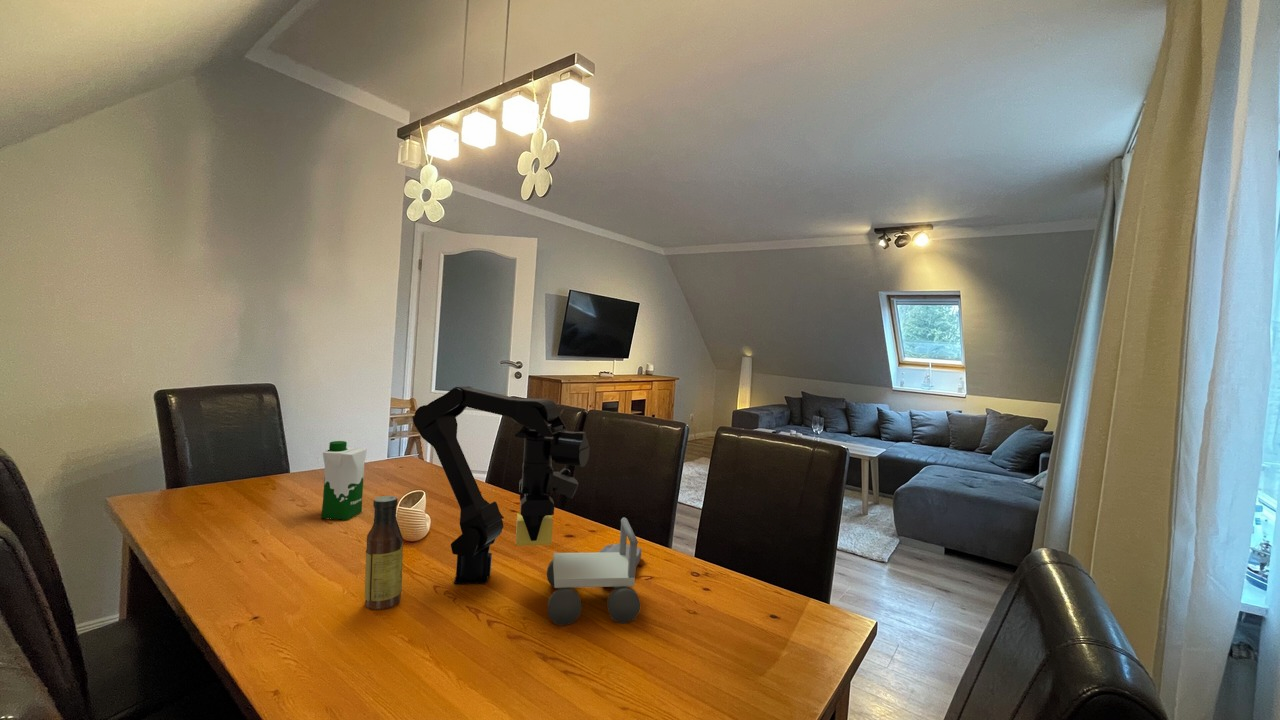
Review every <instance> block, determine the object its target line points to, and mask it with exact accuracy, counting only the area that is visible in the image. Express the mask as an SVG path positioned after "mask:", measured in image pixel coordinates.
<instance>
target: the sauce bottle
mask: <svg viewBox="0 0 1280 720" xmlns="http://www.w3.org/2000/svg"><path fill="white" fill-rule="evenodd" d="M398 504H399V503H398V497H397V496H394V495H382V496H377V497H375V498H374V499H373V505H372V506H373V508H374V511H373V513H374V515H373V516H374V519H373V523H372V526H371V529H370V530H369V532H367V535H366V550H365V576H364V577H365V578H364V600H365V601H364V604H365V606H366V607H367V608H369V609H370V610H376V611H377V610H386V609H390V608H392V607H394V606H396V605H397V604H399V602H400V601H401V598H402V592H403V565H404V564H403V559H404V558H403V557H404V556H403V555H404V553H403V551H404V550H403V549H404V540H403V539H404V538H403V534H402V532H401V529H400V527H399V522H398V520H397V506H398Z"/></svg>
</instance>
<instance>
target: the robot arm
mask: <svg viewBox="0 0 1280 720" xmlns="http://www.w3.org/2000/svg"><path fill="white" fill-rule="evenodd" d="M466 408H469V409H473V410H477V411H482V412H487V413H490V414H494V415H499V416H504V417H507V418H510V419H511V420H513V421H514V422H515V423H516V424H518V425H520V426H522V427H521V429H520V430H518V431H517V432H516V433H515V434H514V437H515V438H516V439H517V438H518V439H524V442H523V444H524V445H523V446H524V447H523V457H522V458H523V462H522V477H521V479H519V482H518V483H519V485H518V486H519V488H518V490H519V491H518V492H519V493H521V494H519V501H520V511H519V512H520V514H521V515H522V517H523V519H524V522H525V525H526V528H527V531H528V534H529V536H530V539H531V541H536V540H537V537H538V533H539V530H540V527H541V523H542V520H543V518H544V517H545V516H547V515H552V516H553V515H555V503H554V499H553V498H552V497H551V496H550V495H553V492H555V493H558V494H561V495H563V496H565V497H566V498H569V499H574V496H575V494H576V491H577V489H578V487H579V482H578V480H577V479H576V478H575V477H574V476H573V477H572V473H571V470H570V469H568V468H565V467H564V468H562V469H561V470H560V471H554V468H553V465H552V463H553V462H555V464H559V465H566V466H575V467H581V468H582V467H583V468H584V467H586V465H587V463H588V460H589V457H590V450H591V447H590V445H589V439H588V438H587V432H586V431H569V430H568V427H567V426H566V424H565V423H564V421H563V419H562V418H561V416H560V414H559V409H558V406H557V404H556V403H555V401H553V400H552V399H550V398H517V397H513V396H508V395H504V394H499V393H495V392H491V391H486V390H483V389H478V388H473V387H472V386H469V385H464V386H455V387H453V388H452V389H450V390H449V391H448V392H447V393H445V394H444V395H442V396H439V397H438V398H436V399H433V400H432V401H431V402H429V403H428V404H424V405H422V406H419V407H418V408H417V409H416V410H415V412H414V414H413V415H414V416H413V417H412V422H413V426H414V427H415V428H416V430H417V432H418V433H419V435H420V437H421V439H423V440H424V441H426V442H427V443H428V444H429V445H430V446H431V447H433V449H434V450H435V454H436V455H437V458H438V460H439V462H440V464H441V467H442V469H443V471H444V474H445V476H446V478H447V480H448V483H449V485H450V488H451V490H452V492H453V494H454V497H455V499H456V501H457V504H458V507H459V509H460V510H459V511H460V513H459V527H460V531H461V535H459V536H458V537H457V538H455V539H454V540H453V541H452V542H451V543H450V548H451V553H452V555H456V569H455V570H456V573H455V578H454V580H453V584H454V585H461V584H462V585H467V584H468V585H469V584H486V583H487V582H488V578H489V577H490V576H491V573H492V561H493V560H492V559H493V553H492V552H490V549H491V548H490V547H491V545H493V544H495V542H496V539H497V538H498V537H500V535H501V534H502V532H503V529H504V522H503V519H504V518H505V517H504V516H503V514H502V513H501V512H500V509H499V505H498V503H497V501H492V502H491V503H490V502H488V501H487V500H486V499H485V498H484V497H483V495H482V493H481V491H480V488H479V486H478V483H477V481H476V480H475V477H474V475H473V472H472V469H471V468H470V466H469V463H468V461H467V459H466V456H465V454H464V452H463V449H462V447H461V445H460V443H459V440H458V437H457V435H458V421H457V417H458V416H460V415H461V414H463V412H464V411H465V409H466ZM552 461H553V462H552Z"/></svg>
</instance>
